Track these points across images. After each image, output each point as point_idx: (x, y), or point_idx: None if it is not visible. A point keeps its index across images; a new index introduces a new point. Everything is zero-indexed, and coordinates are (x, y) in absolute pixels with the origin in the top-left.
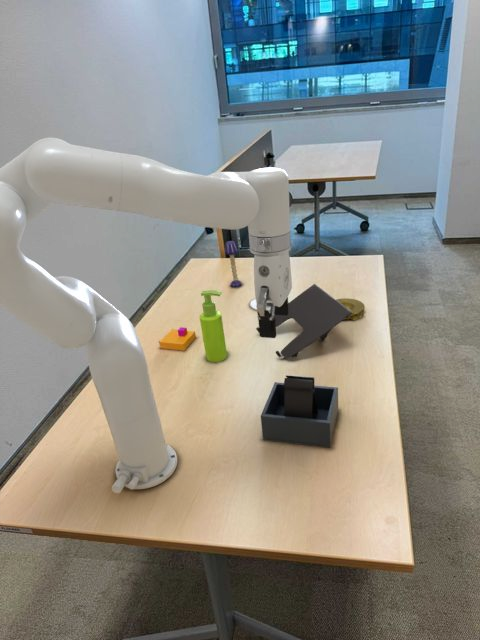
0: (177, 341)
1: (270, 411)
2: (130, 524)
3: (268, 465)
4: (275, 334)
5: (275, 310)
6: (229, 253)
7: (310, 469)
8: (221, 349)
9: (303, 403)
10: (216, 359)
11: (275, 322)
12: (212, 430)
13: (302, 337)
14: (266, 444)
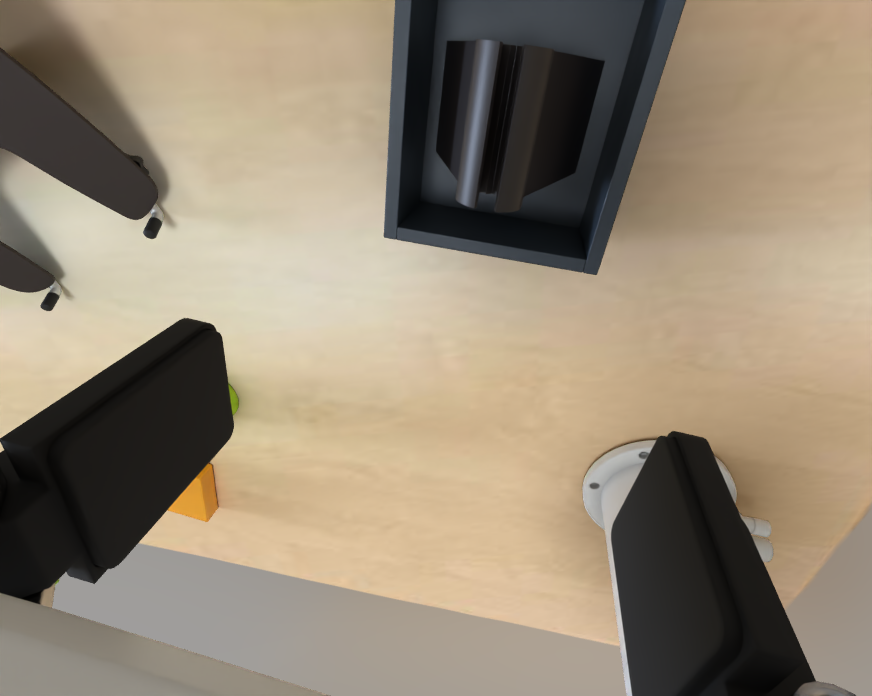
0: (192, 490)
1: (519, 235)
2: (839, 498)
3: (715, 211)
4: (716, 461)
5: (206, 443)
6: None
7: (776, 51)
8: None
9: (556, 99)
10: (231, 397)
11: (746, 585)
12: (531, 376)
13: (36, 142)
14: None
